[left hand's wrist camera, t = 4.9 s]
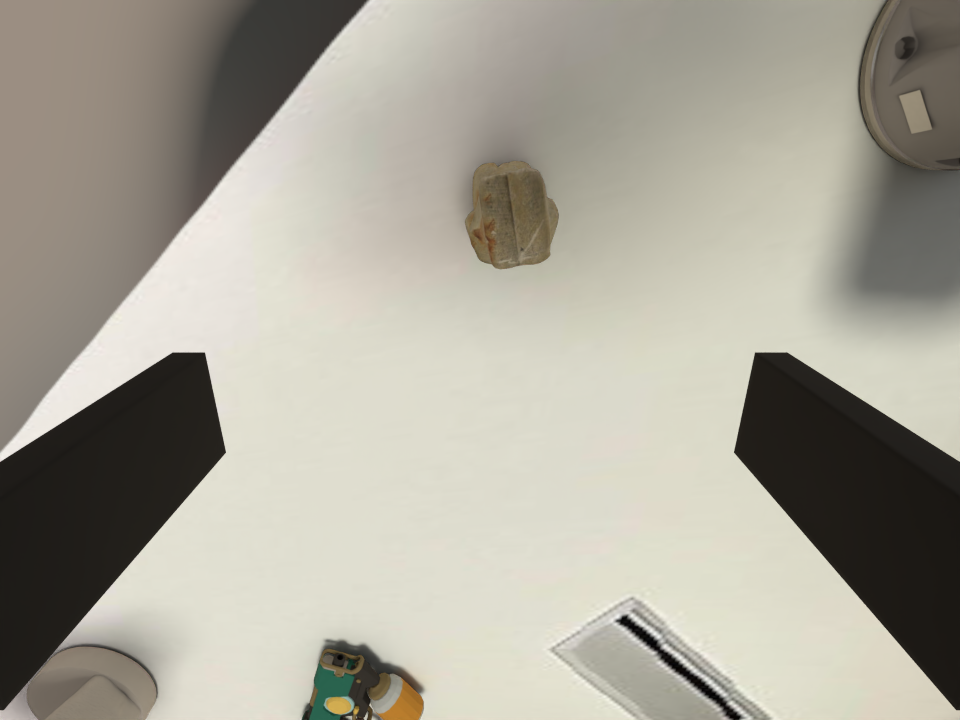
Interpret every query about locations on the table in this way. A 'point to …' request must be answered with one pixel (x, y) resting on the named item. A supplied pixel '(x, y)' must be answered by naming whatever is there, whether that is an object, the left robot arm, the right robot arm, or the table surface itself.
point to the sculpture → (511, 215)
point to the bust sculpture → (91, 687)
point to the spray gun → (359, 691)
